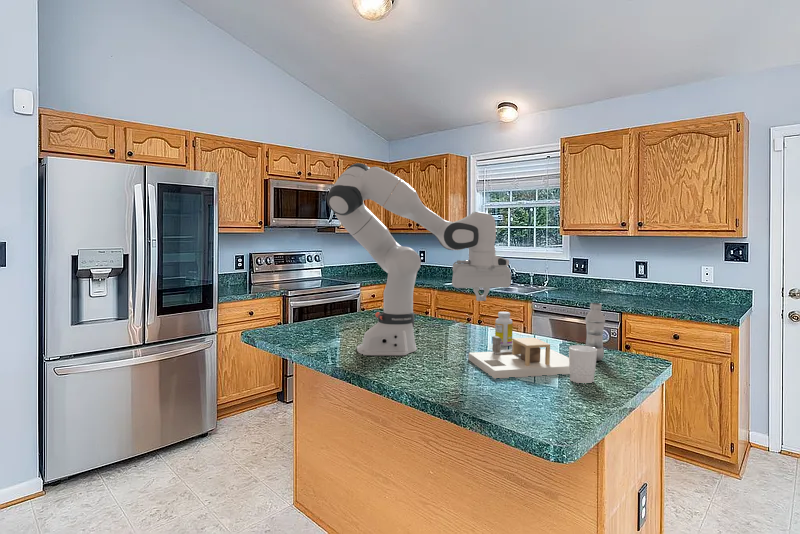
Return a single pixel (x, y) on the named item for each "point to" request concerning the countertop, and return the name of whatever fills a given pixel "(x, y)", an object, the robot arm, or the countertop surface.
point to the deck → (516, 366)
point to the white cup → (582, 363)
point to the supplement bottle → (504, 328)
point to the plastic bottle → (595, 329)
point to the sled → (533, 354)
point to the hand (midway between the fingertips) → (481, 300)
